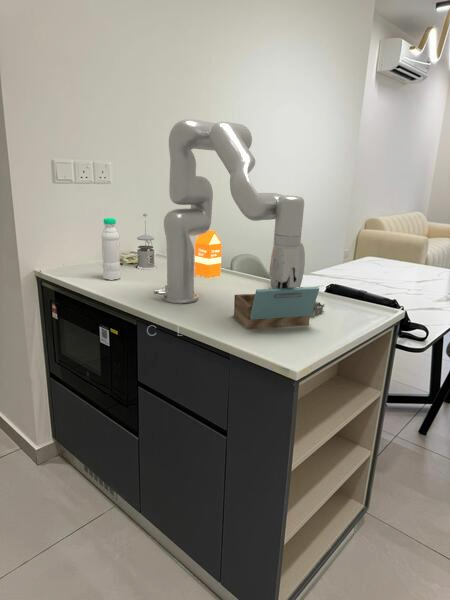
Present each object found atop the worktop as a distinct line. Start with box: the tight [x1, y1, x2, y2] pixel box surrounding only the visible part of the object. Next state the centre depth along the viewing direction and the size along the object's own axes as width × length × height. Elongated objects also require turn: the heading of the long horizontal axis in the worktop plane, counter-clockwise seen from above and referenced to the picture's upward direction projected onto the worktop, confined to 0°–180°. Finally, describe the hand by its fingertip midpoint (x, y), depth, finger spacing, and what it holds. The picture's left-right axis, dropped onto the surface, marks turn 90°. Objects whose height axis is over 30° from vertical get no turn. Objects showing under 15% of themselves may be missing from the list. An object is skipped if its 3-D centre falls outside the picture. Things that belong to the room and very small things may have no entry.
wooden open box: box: [233, 293, 311, 330], centre depth 138 cm, size 20×13×7 cm, turn 107°
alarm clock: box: [269, 242, 306, 289], centre depth 176 cm, size 21×8×20 cm, turn 155°
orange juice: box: [194, 229, 223, 279], centre depth 193 cm, size 8×9×20 cm
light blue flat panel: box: [250, 286, 320, 320], centre depth 128 cm, size 19×2×10 cm, turn 107°
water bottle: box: [100, 217, 122, 279], centre depth 181 cm, size 7×7×25 cm
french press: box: [136, 212, 157, 268], centre depth 206 cm, size 10×12×25 cm
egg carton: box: [310, 300, 325, 319], centre depth 147 cm, size 11×8×4 cm
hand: (281, 303), depth 130 cm, fingers closed
